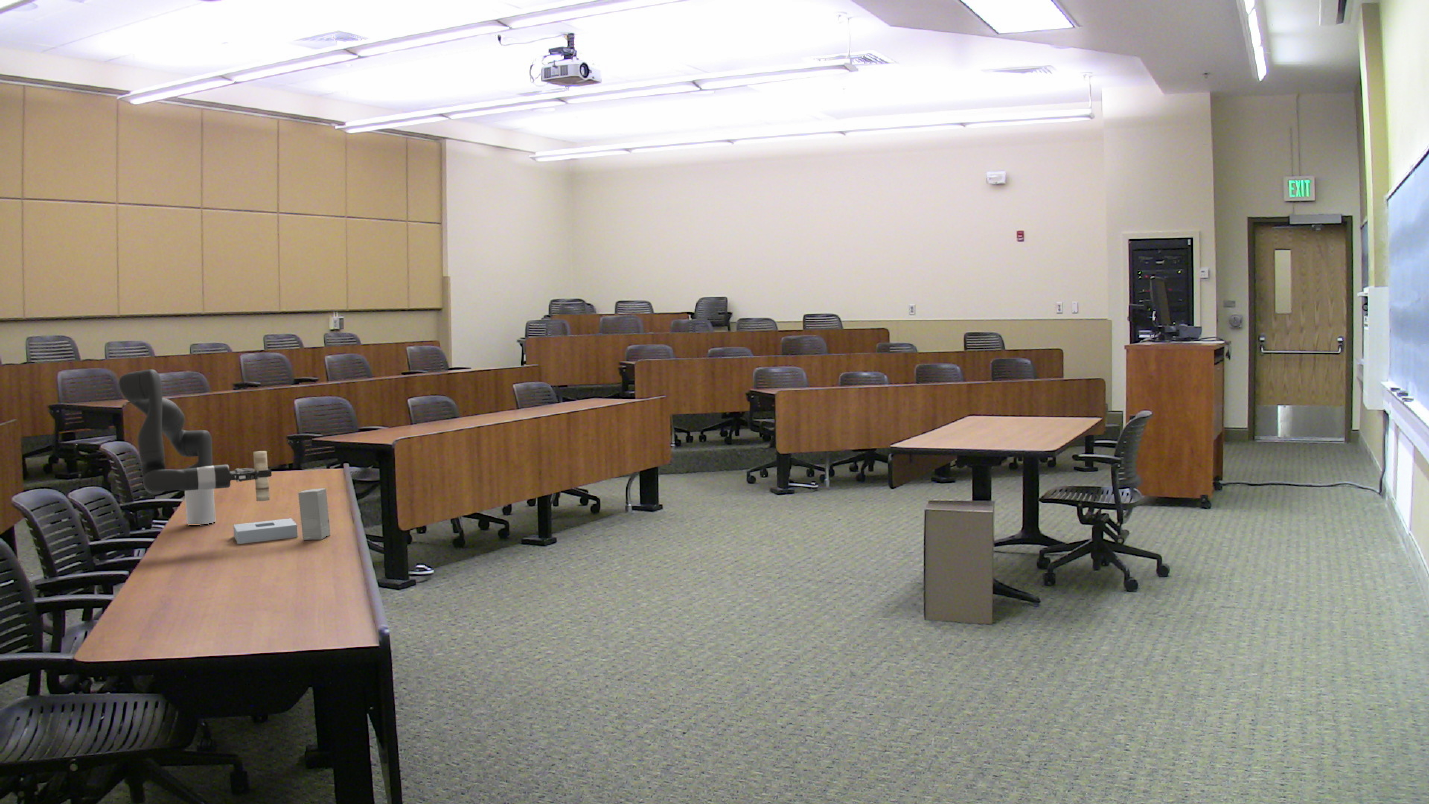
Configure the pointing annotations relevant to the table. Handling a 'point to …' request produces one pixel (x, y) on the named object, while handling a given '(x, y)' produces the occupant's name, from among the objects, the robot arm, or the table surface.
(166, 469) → the robot arm
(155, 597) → the table surface
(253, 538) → the seat board
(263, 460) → the dowel
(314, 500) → the skincare box
